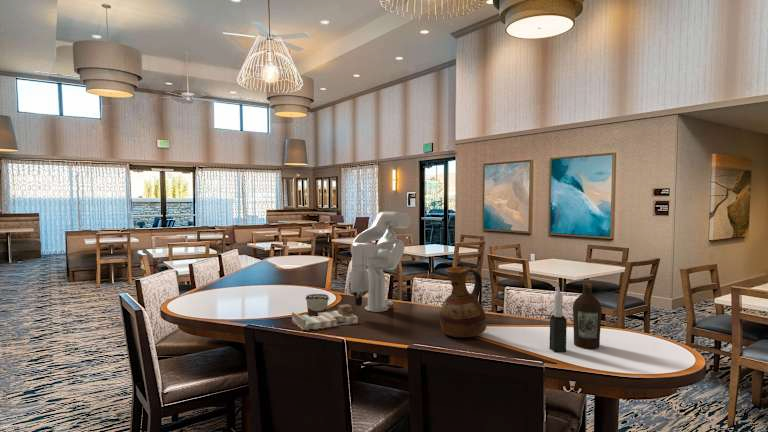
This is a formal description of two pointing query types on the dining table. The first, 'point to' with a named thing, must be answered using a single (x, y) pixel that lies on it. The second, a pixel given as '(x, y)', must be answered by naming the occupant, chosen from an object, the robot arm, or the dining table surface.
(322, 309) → the food container
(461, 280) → the ceramic pitcher
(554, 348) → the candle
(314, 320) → the trap board
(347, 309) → the walnut block
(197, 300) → the dining table surface
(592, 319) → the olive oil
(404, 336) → the dining table surface
